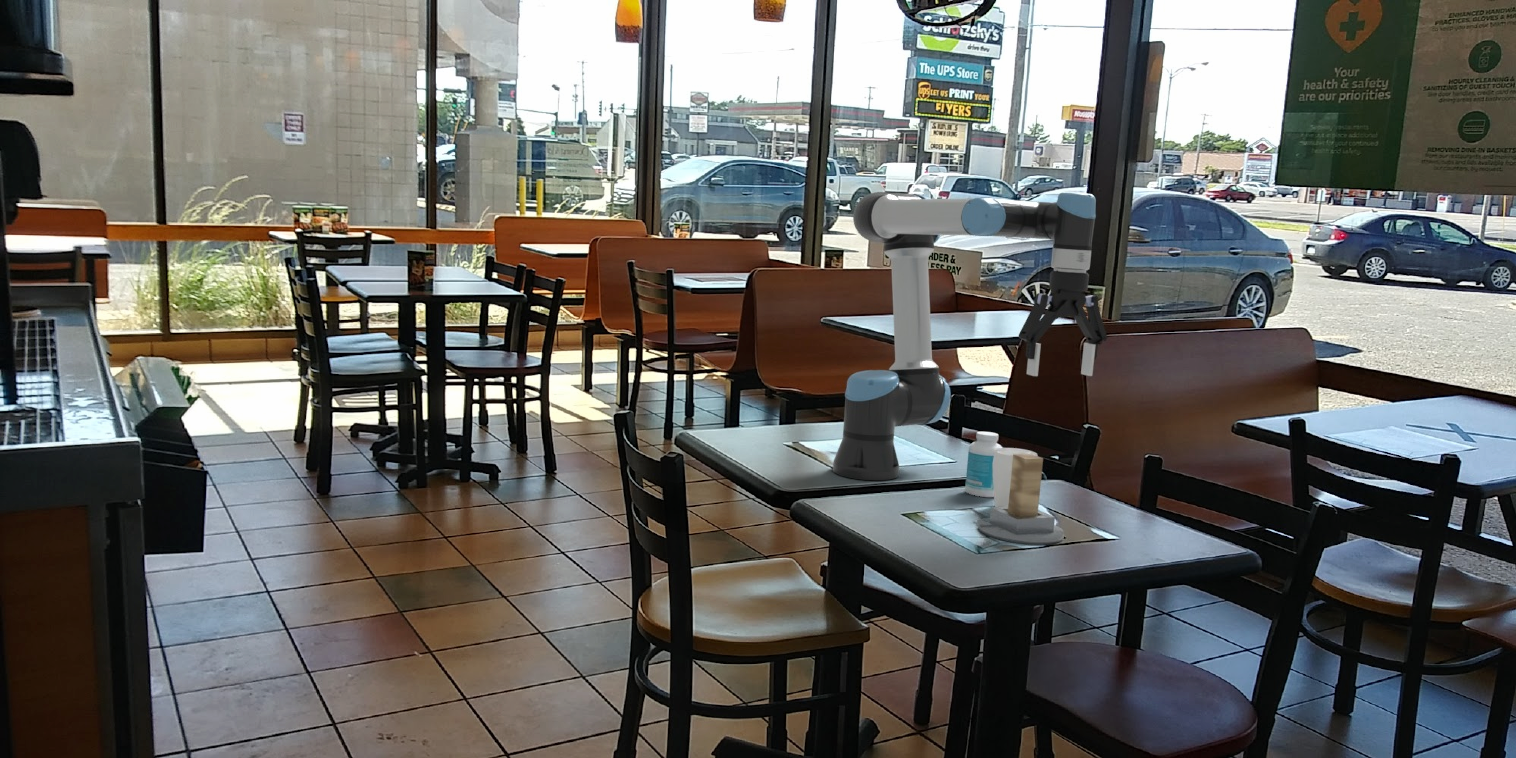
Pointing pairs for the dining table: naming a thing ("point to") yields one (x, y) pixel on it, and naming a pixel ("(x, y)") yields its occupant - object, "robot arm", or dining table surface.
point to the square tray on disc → (1021, 527)
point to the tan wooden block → (1025, 485)
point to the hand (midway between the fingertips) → (1059, 375)
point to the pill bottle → (981, 465)
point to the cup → (1004, 473)
